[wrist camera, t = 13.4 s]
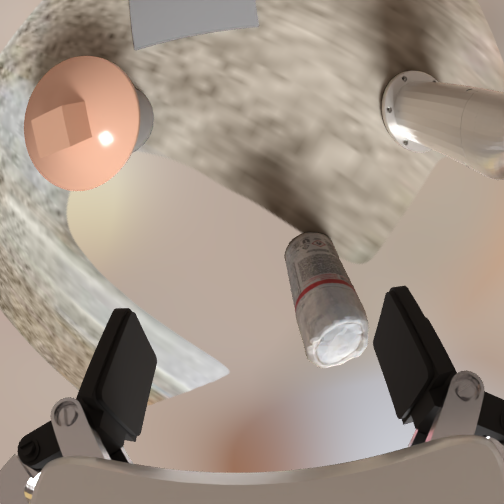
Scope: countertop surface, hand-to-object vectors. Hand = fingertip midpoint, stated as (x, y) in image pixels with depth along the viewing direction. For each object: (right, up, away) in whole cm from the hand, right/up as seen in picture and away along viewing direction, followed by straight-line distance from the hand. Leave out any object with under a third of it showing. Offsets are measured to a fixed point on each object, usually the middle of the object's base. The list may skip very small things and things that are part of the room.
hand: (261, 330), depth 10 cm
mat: (-8, +37, +14) cm, 40 cm away
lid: (-19, +16, +14) cm, 29 cm away
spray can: (+8, +3, +36) cm, 37 cm away
